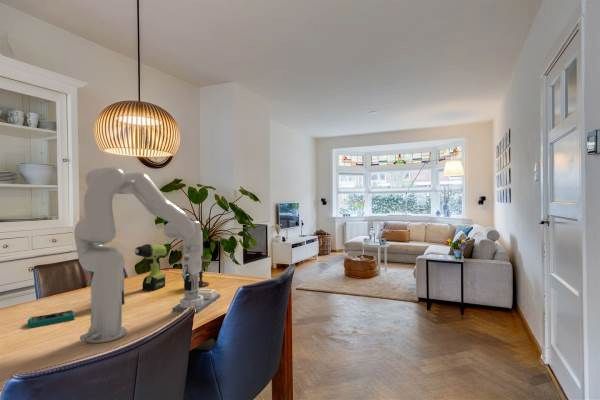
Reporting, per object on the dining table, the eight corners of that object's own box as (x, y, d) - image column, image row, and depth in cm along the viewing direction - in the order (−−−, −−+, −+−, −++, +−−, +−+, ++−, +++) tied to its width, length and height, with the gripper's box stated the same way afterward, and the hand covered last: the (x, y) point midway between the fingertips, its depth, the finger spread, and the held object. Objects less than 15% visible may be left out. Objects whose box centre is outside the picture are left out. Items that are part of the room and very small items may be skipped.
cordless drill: (139, 296, 165) (139, 247, 165) (127, 295, 167) (127, 246, 167) (167, 285, 188) (168, 241, 188) (157, 284, 189) (157, 241, 190)
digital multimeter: (27, 324, 129) (27, 316, 129) (73, 316, 138) (73, 309, 138) (27, 330, 123) (27, 322, 123) (75, 321, 133) (75, 313, 133)
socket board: (198, 312, 141) (198, 302, 141) (172, 311, 143) (172, 301, 143) (220, 296, 165) (220, 287, 165) (197, 295, 167) (197, 287, 167)
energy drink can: (190, 304, 144) (190, 269, 144) (181, 302, 147) (181, 268, 147) (201, 300, 149) (201, 267, 149) (192, 298, 152) (192, 266, 152)
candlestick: (213, 283, 192) (213, 223, 193) (206, 288, 182) (206, 224, 182) (195, 282, 194) (195, 223, 194) (187, 287, 183) (187, 224, 183)
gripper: (190, 251, 139) (190, 293, 139) (207, 246, 156) (207, 284, 156) (173, 250, 140) (173, 293, 140) (193, 245, 157) (192, 283, 157)
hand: (191, 287), depth 148 cm, fingers open, 6 cm apart
